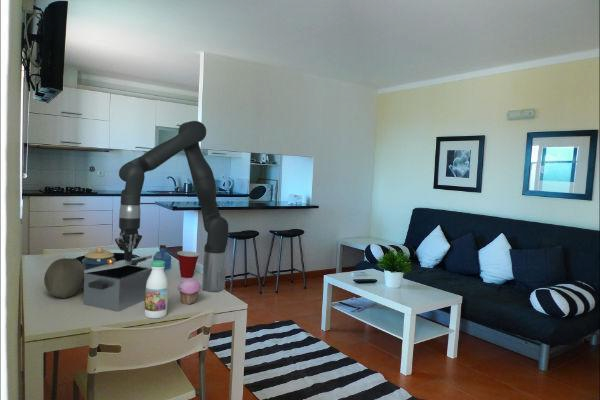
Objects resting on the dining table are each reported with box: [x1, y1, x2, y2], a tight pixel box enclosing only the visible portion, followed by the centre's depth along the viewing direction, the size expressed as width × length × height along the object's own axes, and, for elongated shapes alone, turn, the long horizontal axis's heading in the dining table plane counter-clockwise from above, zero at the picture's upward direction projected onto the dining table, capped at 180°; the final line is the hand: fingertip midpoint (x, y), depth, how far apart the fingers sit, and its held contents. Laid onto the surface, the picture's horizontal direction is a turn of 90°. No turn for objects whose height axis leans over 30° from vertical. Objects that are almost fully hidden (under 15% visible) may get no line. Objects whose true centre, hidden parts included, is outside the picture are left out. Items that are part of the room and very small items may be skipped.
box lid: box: [84, 255, 153, 273], centre depth 160 cm, size 19×19×3 cm
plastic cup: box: [176, 250, 201, 279], centre depth 201 cm, size 11×11×12 cm
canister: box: [81, 246, 117, 291], centre depth 175 cm, size 13×13×18 cm
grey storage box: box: [82, 264, 152, 312], centre depth 160 cm, size 16×22×12 cm
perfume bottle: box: [152, 244, 172, 271], centre depth 213 cm, size 6×6×12 cm
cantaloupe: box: [43, 257, 86, 299], centre depth 162 cm, size 14×14×15 cm
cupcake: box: [177, 277, 202, 305], centre depth 165 cm, size 9×9×10 cm
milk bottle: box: [144, 260, 169, 320], centre depth 149 cm, size 8×8×20 cm
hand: (128, 260), depth 159 cm, fingers closed
